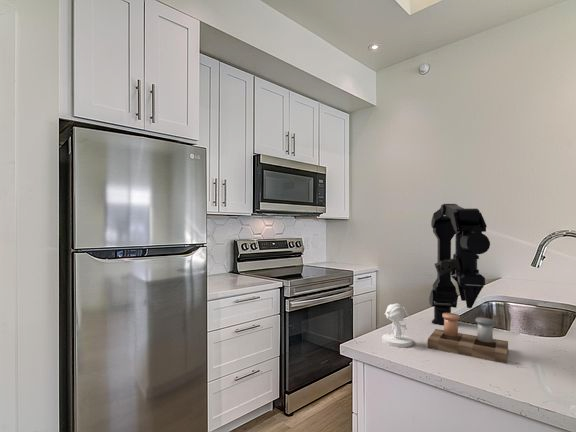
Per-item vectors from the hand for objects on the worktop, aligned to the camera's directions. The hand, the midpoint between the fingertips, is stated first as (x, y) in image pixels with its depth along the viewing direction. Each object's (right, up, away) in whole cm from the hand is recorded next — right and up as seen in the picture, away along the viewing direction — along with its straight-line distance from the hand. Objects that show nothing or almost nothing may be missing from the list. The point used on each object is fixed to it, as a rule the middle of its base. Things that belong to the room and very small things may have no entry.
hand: (466, 304), depth 101 cm
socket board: (+1, -14, +1) cm, 14 cm away
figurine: (-18, -14, +7) cm, 24 cm away
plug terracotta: (-3, -10, +4) cm, 11 cm away
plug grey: (+5, -10, -2) cm, 11 cm away
